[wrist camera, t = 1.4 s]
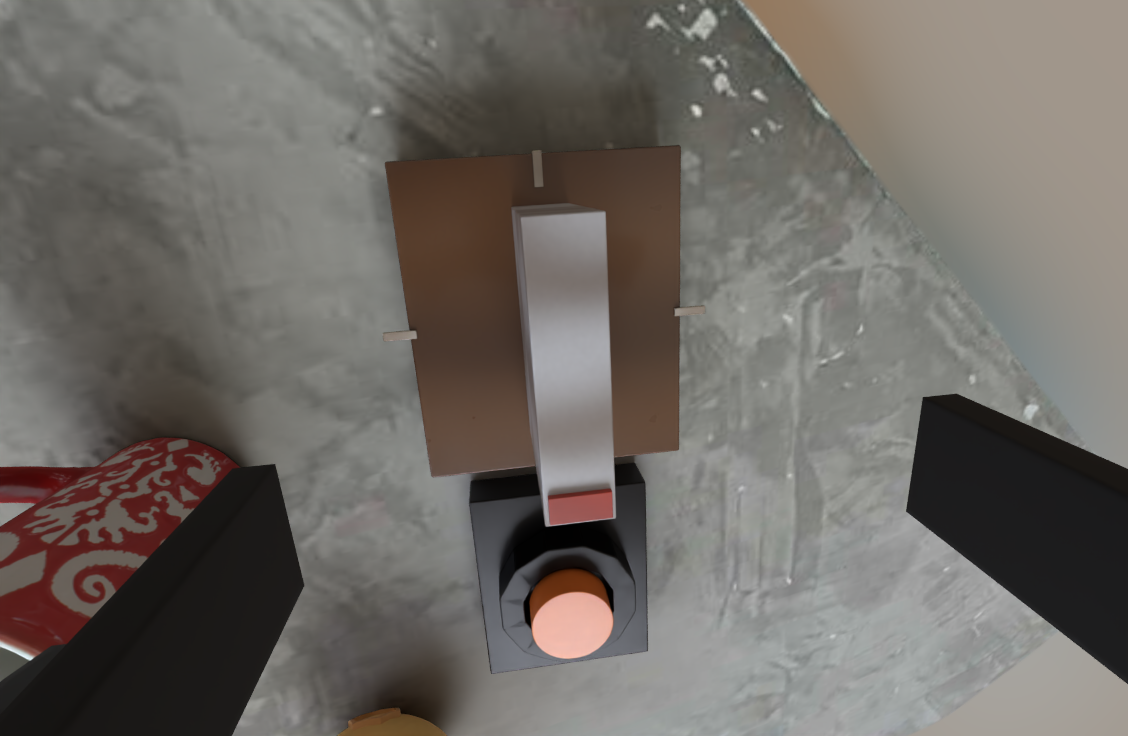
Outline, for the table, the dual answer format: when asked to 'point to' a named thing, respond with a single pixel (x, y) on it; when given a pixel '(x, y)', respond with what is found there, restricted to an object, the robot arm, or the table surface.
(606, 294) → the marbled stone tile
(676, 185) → the plate
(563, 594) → the button
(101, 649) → the robot arm
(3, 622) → the mug
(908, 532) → the table surface
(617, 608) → the button housing
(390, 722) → the stress ball
